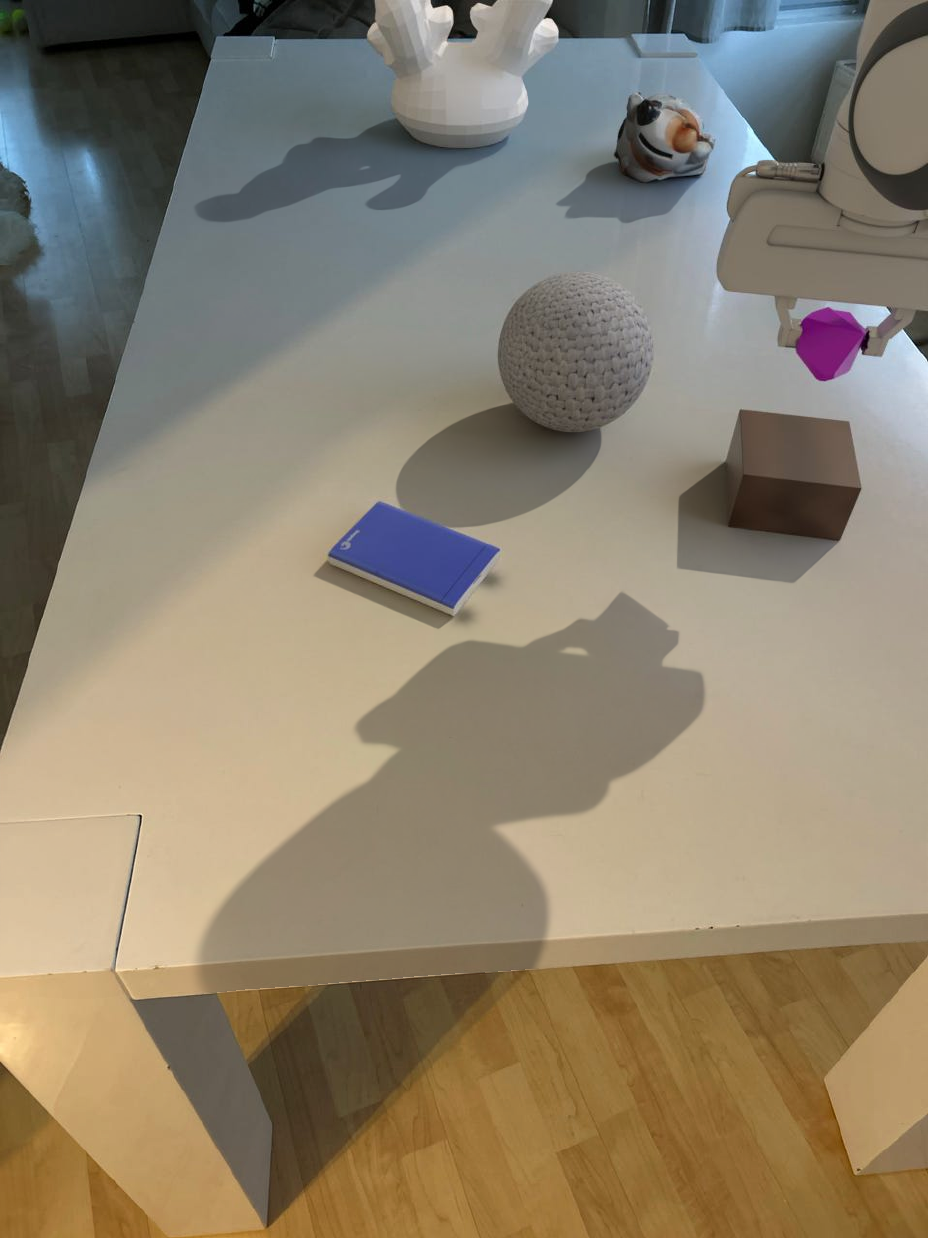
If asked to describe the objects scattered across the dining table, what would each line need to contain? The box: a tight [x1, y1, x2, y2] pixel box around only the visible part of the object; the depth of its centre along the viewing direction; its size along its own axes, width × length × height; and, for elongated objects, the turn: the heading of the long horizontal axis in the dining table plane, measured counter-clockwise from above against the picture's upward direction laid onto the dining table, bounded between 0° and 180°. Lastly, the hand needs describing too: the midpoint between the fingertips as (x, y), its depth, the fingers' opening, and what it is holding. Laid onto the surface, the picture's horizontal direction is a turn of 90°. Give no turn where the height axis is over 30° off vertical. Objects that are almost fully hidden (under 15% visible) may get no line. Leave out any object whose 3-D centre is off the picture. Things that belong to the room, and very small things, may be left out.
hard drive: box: [327, 500, 501, 617], centre depth 82 cm, size 2×8×12 cm
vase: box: [366, 0, 559, 149], centre depth 138 cm, size 29×22×35 cm
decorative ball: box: [497, 271, 654, 433], centre depth 92 cm, size 15×15×15 cm
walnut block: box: [725, 408, 863, 541], centre depth 87 cm, size 10×10×6 cm
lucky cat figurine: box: [613, 91, 716, 184], centre depth 136 cm, size 15×12×14 cm
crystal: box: [794, 306, 868, 382], centre depth 75 cm, size 5×5×5 cm
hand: (828, 348), depth 76 cm, fingers closed on crystal, 5 cm apart
